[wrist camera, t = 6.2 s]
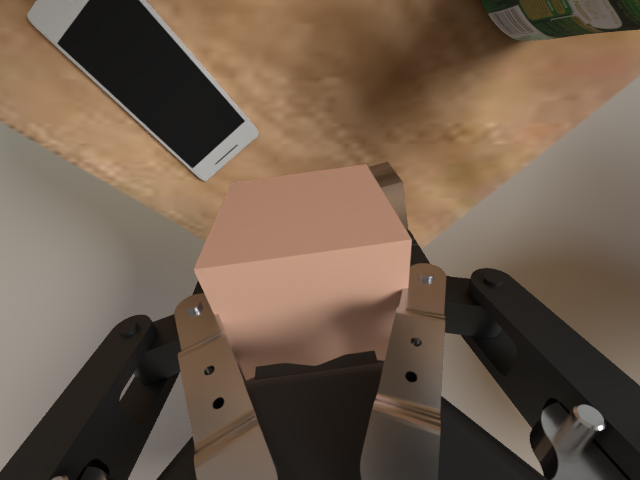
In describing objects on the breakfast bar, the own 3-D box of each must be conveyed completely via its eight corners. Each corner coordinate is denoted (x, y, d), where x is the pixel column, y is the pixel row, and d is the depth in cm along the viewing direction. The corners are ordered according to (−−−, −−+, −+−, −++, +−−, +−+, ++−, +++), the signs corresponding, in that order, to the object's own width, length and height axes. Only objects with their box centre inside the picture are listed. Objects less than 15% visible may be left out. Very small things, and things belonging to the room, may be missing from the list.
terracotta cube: (231, 182, 13) (193, 269, 8) (366, 164, 13) (411, 239, 8) (261, 283, 16) (248, 388, 11) (369, 268, 16) (402, 367, 11)
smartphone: (91, -66, 19) (82, -71, 18) (261, 131, 26) (260, 134, 26) (33, 18, 21) (23, 17, 20) (206, 179, 28) (203, 183, 28)
